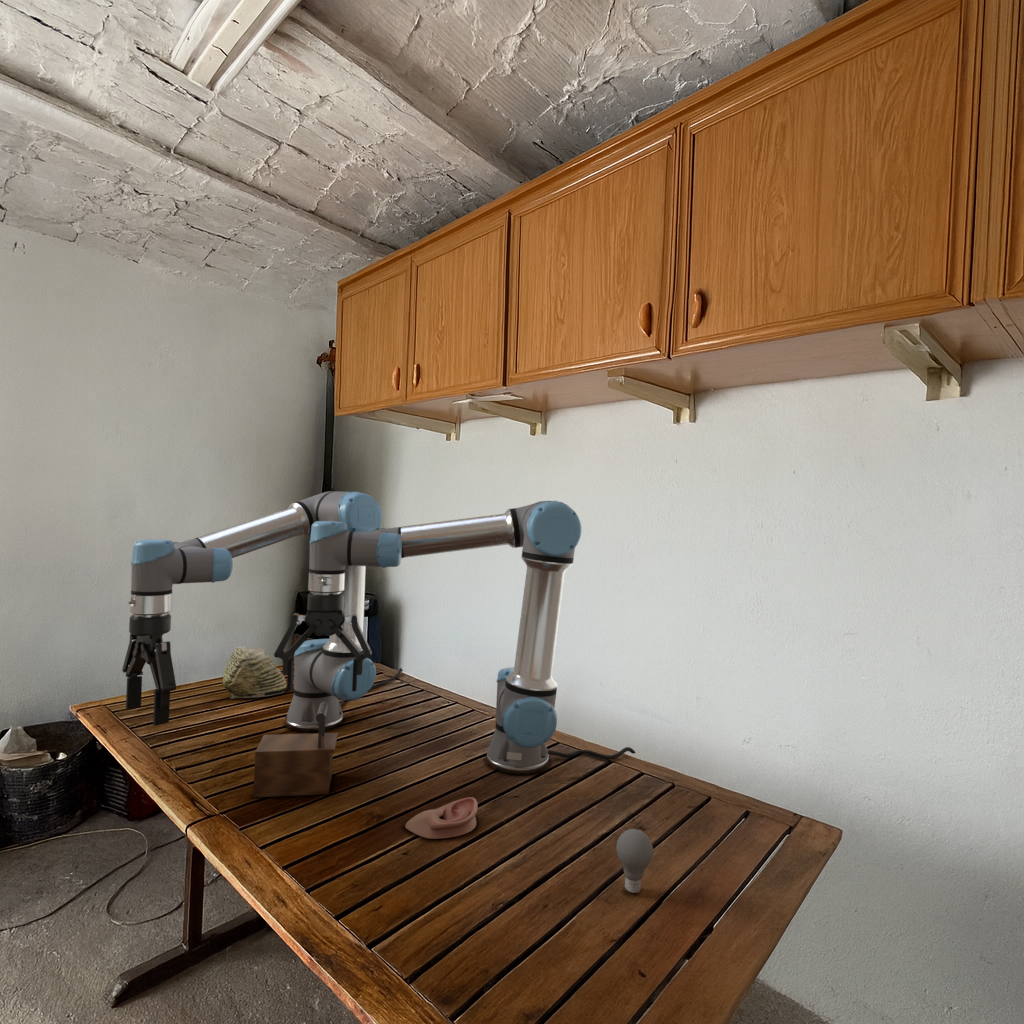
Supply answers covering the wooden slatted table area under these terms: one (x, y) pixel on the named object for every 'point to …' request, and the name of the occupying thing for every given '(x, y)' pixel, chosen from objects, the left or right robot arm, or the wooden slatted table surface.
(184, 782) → the wooden slatted table surface
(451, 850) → the wooden slatted table surface
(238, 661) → the fossil
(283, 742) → the lid
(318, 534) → the right robot arm
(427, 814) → the anatomical model
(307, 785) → the chest
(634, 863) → the light bulb
